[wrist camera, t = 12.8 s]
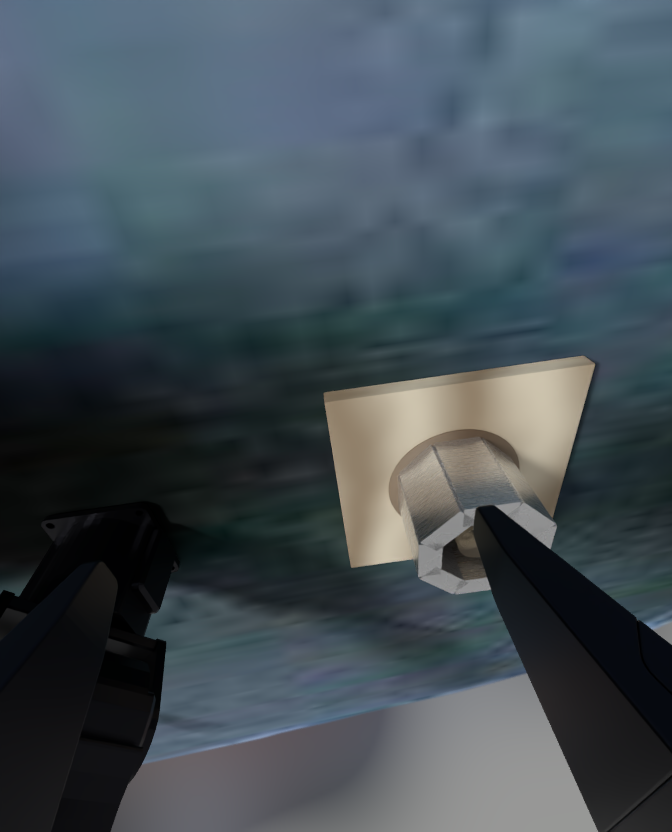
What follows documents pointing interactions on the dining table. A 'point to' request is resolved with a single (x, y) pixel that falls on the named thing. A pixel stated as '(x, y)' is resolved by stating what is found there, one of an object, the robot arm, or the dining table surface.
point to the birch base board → (448, 438)
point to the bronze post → (467, 543)
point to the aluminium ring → (462, 508)
